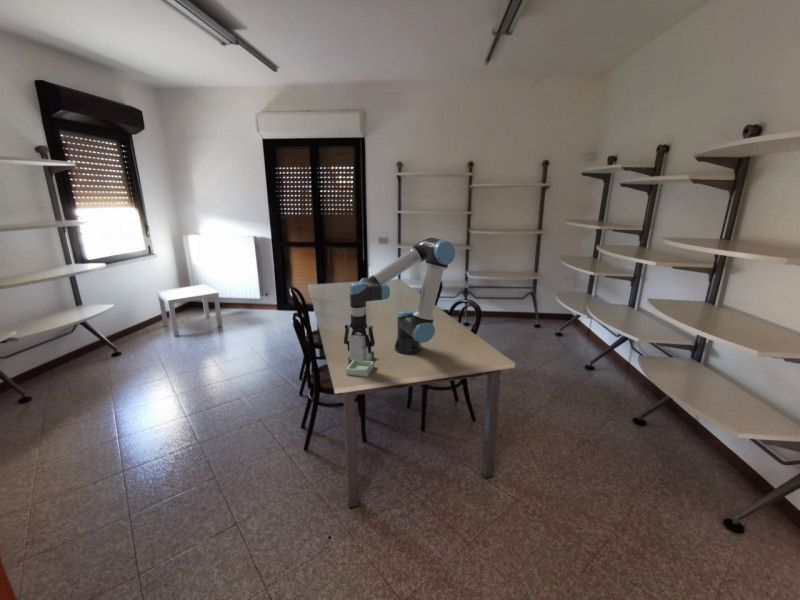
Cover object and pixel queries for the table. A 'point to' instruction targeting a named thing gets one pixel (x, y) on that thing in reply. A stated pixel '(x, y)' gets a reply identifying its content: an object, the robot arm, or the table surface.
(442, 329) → the table surface
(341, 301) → the table surface
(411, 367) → the table surface
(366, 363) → the trough tray
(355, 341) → the supplement box
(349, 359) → the dark gray open-sided tray
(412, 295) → the table surface
